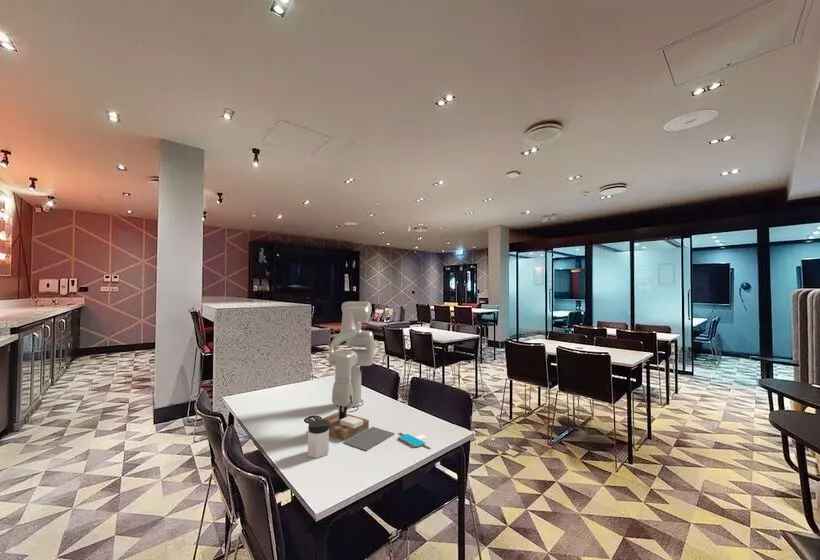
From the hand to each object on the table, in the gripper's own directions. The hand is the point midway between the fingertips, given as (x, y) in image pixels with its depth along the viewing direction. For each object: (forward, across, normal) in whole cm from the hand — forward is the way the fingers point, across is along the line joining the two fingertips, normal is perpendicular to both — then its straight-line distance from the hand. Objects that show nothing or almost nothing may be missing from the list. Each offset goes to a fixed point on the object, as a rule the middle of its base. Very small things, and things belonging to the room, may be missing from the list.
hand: (342, 419), depth 158 cm
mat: (+5, +17, 0) cm, 18 cm away
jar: (+5, +8, -22) cm, 24 cm away
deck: (+5, -1, 0) cm, 5 cm away
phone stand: (+6, +34, +11) cm, 36 cm away
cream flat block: (+1, +6, 0) cm, 6 cm away
